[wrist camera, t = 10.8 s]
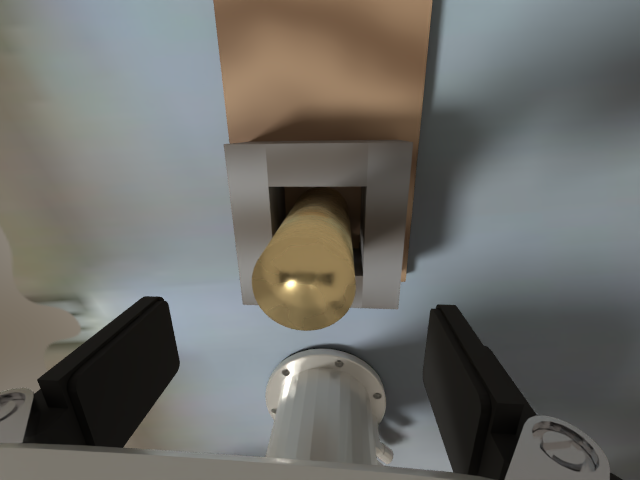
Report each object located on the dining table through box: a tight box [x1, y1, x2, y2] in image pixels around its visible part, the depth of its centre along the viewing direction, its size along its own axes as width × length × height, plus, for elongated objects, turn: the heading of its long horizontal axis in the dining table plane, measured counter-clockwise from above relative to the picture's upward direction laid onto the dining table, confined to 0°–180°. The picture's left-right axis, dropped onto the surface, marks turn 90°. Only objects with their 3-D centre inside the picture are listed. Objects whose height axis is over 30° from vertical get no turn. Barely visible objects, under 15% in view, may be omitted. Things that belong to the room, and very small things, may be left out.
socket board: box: [213, 0, 432, 309], centre depth 20 cm, size 22×14×6 cm, turn 1°
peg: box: [252, 187, 356, 331], centre depth 18 cm, size 4×4×12 cm
